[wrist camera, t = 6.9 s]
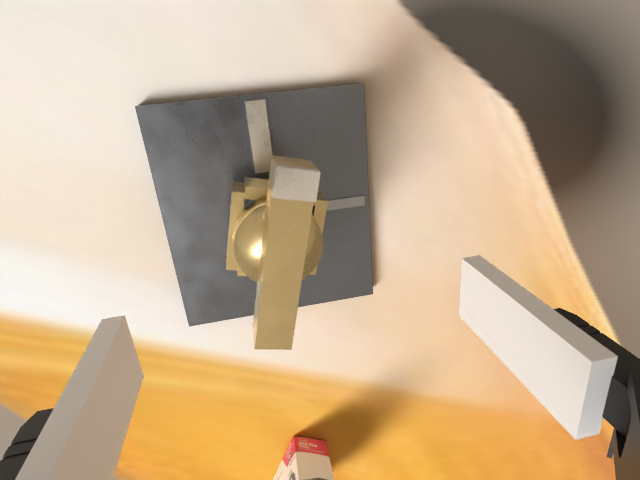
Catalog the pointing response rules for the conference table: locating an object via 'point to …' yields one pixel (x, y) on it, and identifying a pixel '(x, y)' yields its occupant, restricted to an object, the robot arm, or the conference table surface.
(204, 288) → the plate
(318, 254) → the collar
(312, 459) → the ink box
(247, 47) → the conference table surface
